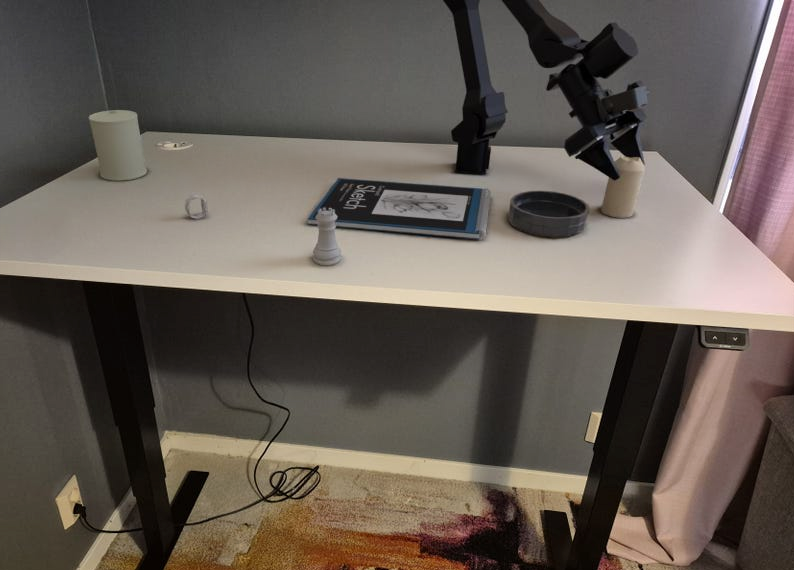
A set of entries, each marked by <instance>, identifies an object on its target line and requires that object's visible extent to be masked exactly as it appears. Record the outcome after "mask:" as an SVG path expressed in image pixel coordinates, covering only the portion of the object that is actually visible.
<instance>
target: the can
mask: <svg viewBox="0 0 794 570" xmlns="http://www.w3.org/2000/svg"><path fill="white" fill-rule="evenodd" d="M88 121H89V124H90V128H91V133H92V137H93V142H94V146H95V151H96V156H97V161H98V165H99V170H100V171H99V173H100V177H101V178H102V179H104V180H106V181H113V182H115V181H116V182H117V181H118V182H121V181H122V182H123V181H131V180H136V179H139V178H141V177H144V176H145V175H147V173H148V168H147V164H146V161H145V156H144V155H145V154H144V150H143V144H142V138H141V131H140V125H139V120H138V113H137V112H135V111H132V110H126V109H113V110H112V109H111V110H103V111H99V112H95V113H92V114H90V115H89V116H88Z"/></svg>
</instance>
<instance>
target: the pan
mask: <svg viewBox="0 0 794 570" xmlns="http://www.w3.org/2000/svg"><path fill="white" fill-rule="evenodd" d="M589 212H590V206H589V203H587V202H586V201H585V200H583V199H581V198H579V197H577V196H575V195H571V194H568V193H565V192H559V191H554V190H527V191H522V192H519V193H516V194H514V195H513V196H512V197H511V198H510V200H509V207H508V215H507V220H508V221H509V223H510V224H511V225H512V226H514V227H515V228H516V229H517V230H519V231H521V232H524V233H526V234H529V235H533V236H538V237H544V238H565V237H571V236H573V235H574V236H575V235H576V234H579V233H580V232H582V231H584V229H585V228H586V226H587V221H588V217H589Z"/></svg>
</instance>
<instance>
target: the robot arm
mask: <svg viewBox="0 0 794 570" xmlns="http://www.w3.org/2000/svg"><path fill="white" fill-rule="evenodd" d="M480 1H481V0H442V2H443V3H444V4H445V5H446V7H447V8H448V10H449V11H450V13H451V14H452V18H453V24H454V30H455V34H456V41H457V46H458V51H459V57H460V63H461V69H462V75H463V80H464V86H465V96H464V100H463V104H462V107H461V113H462V120H461V121H460V122H459V123H457V125H456V126H454V127H453V128H452V129H451V130H450V133H451V140H452V142H454V143H457V150H456V160H455V165H454V173H456V174H457V173H458V174H459V173H460V174H473V175H486V174H487V170H489V168H490V162H491V154H492V146H491V145H490V140H491V139H496V137H497V134H498V132H499V131H500V130H501V129H502V128H503V127H504V125H505V123H506V121H507V120H506V115H507V114H508V113H509V111H508V109H507V106H506V101H505V100H506V99H505V97H506V96H505V93H504V92H503V91H500V92H497V91H496V89H495V88H494V87H493V85H492V82H491V76H490V69H489V63H488V57H487V51H486V46H485V40H484V39H485V38H484V34H483V28H482V27H483V26H482V21H481V16H480V9H479V8H480V7H479V5H480ZM501 2H502V3H503V4H504V6H505V7H506V9H508V11H509V12H510V14H511V15H512V16H513V18H514V19H515V20H516V21H517V22H518V24H519V25H520V26H521V28H522V29H523V30H524V32H525V34H526V36H527V41H528V46H529V49H530V51H531V53H532V55H533V57H534V59H535V61H536V62H537V64H538V65H539V66H540V67H542V68H543V69H554V68H558V67H563V66H565V67H564V68H563V69H562V70H560V71H559V73H558V72H554V73H550V74H549V75H548V82H547V83H546V84H547V85H546V88H545V90H546V91H547V92H550V91H553V90H558V89H560V91H561V92H562V95H563V96H564V98H565V100H566V101H567V103H568V105H569V106H570V108H571V111H569V113H568V115H569V116H570V118H571V119H574V118H577V121H578V122H579V124H580V126H581V127H580V128H579V129H578V130H577V131H576V132H574V133H573V134H572V135H570V136H569V137H567V138H566V139H565V140H564V145H563V149H564V150H565V152H566V154H567V156H568V158H570V157H572V156H574V159H575V160H580V161H581V162H583V163H585V164H587V165H588V166H590V167H592V168H593V169H595V170H597V171H598V172H600V173H602V175H605V176H606V177H608V178H611V179H613V180H614V181H615V180H617V179H619V178H620V174H619V171H618V169H617V166H616V164H615V159H614V157H613V156H612V155H613V154H612V153H611V151H610V148H609V145H610V144H611V146H612V147H614V148H615V149H616V150H617V151H618V152H619V153H620V154H621V155H622V156H623V157H628V158H633V157H639V158H640V159H641V161H642V163H643V164H644V166H645V167H646V163H645V159H644V158H645V157H644V154H643V149H642V142H641V132H642V129H643V127H644V126H645V123H646V121H645V120H647V118H648V116H647V114H646V113H645V110H643V109H642V108H641V107H643V106H647V105H649V103H648V95H650V94H651V90H650V89H649V88H648V87H647V84H644V83H643V82H642V80H637V81H634V82H632V83H629V84H627V87H626V90H625V91H622V92H619V93H615V94H614V92H613V91H612V90H611V89H609V88H607V89H604V88H603V87H602V86H601V84H600V82H599V80H598V79H600V78H601V79H603V80H607V79H609V78H610V77H612V76H613V75H614V74H616V73H617V72H618V71H619V70H621V69H622V68H623V67H624V66H625V65H627V64H628V63H629V62H630V61H632V60H633V59H634V58H636V57H637V56H638V54H639V48H638V45H637V43H636V40H635V38H634V36H631V35H630V33H628V32H627V31H626V30H625V29H624V28H622V27H620V26H619V25H618V23H617V22H616V21H614V22H609V23H608V24H607V25H606V26H604V27H603V29H601V31H600V32H599V33H598V34H597V35H596V36H595V37H593V39H592V40H587V39H583V38H581V37H580V35H579V33H578V32H577V31H575V30H574V29H573V28H572V27H571V26H570V25H569V24H567V23H566V22H564V21H563V20H561V19H560V18H557V17H556V16H553V14H551V13H550V12H549V11H548V10H547V8H546V7H545V6H544V5H543V3H542V2H541V1H540V0H501ZM580 58H581V59H580ZM576 59H580V60H578V62H577V63H573V62H575V61H576ZM610 141H611V142H610Z"/></svg>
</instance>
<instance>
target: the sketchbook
mask: <svg viewBox="0 0 794 570" xmlns="http://www.w3.org/2000/svg"><path fill="white" fill-rule="evenodd" d="M491 197H492V191H491V189H490V188H488V187H484V188H482V187H481V188H479V187H467V186H455V185H452V186H451V185H441V184H440V185H439V184H428V183H427V184H425V183H413V182H399V181H386V180H385V181H384V180H370V179H357V178H344V177H337V179H336V180H335V182H333V184H332V186H331V187H330V188H329V189H328V191H327V192H326V193H325V195H324V197H323V198H322V199H321V201H320V202H319V203H318V204H317V205H316V207H315V208H314V210H313V211H312V212H311V213H310V215H309V216H308V218H307V225H311V226H318V224H319V222H318V220H317V219H316V215H317V214H318V210H319V209H322V211H323V208H326V211H329V208H332V210H333V209H334V210H335V214H336V215H337V219H336V220H335V222H334V224H335V225H336V228H344V229H354V230H355V229H357V230H366V231H379V232H388V233H389V232H390V233H401V234H412V235H424V236H435V237H445V238H446V237H448V238H458V239H468V240H478V241H481V240H483V239H485V237H486V233H487V225H488V219H489V218H488V217H489V211H490V204H491Z"/></svg>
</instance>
